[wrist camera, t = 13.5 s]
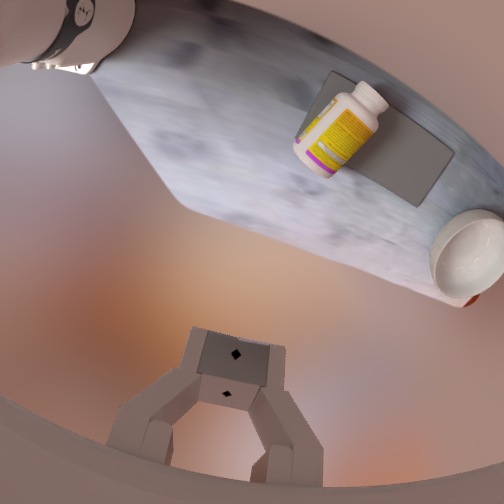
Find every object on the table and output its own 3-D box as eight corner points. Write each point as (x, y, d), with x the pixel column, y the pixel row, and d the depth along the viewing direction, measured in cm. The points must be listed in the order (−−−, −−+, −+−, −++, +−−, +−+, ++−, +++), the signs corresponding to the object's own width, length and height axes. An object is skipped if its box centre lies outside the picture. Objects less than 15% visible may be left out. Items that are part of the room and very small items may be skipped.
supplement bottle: (335, 186, 40) (402, 119, 33) (306, 171, 35) (381, 93, 29) (312, 155, 43) (372, 93, 37) (282, 138, 39) (347, 67, 32)
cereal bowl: (406, 267, 52) (417, 293, 46) (443, 185, 42) (462, 206, 36) (472, 280, 52) (485, 304, 46) (509, 210, 42) (528, 231, 36)
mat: (294, 138, 41) (295, 139, 41) (331, 70, 35) (331, 71, 35) (415, 205, 45) (416, 207, 44) (452, 151, 39) (453, 152, 38)
